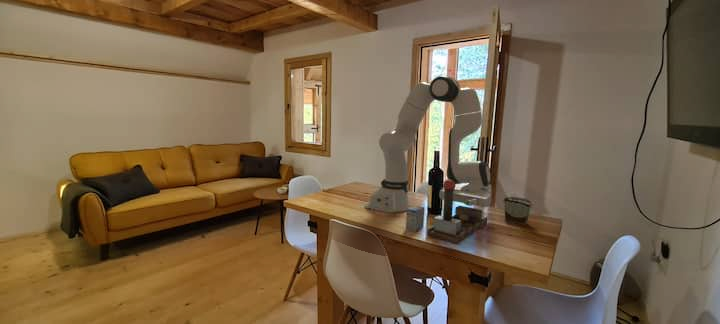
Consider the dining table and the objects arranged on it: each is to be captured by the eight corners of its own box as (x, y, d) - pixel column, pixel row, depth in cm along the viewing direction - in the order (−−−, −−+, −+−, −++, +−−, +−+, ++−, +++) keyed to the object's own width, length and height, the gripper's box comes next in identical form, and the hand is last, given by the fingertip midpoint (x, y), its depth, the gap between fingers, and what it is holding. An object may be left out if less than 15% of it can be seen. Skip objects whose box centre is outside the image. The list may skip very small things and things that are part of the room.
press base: (456, 244, 111) (458, 226, 110) (427, 236, 119) (427, 218, 118) (487, 224, 134) (488, 208, 133) (460, 218, 141) (461, 203, 140)
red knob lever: (455, 236, 113) (458, 182, 111) (433, 230, 119) (435, 178, 116) (460, 233, 117) (463, 180, 114) (438, 227, 123) (441, 177, 120)
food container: (536, 223, 136) (538, 201, 134) (528, 226, 132) (531, 203, 131) (509, 216, 146) (511, 195, 144) (501, 218, 142) (503, 197, 141)
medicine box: (414, 224, 132) (414, 204, 131) (423, 226, 130) (424, 206, 129) (405, 229, 126) (406, 208, 125) (415, 232, 124) (416, 211, 122)
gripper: (447, 183, 138) (432, 188, 128) (495, 191, 125) (482, 197, 115) (447, 197, 139) (432, 203, 129) (494, 206, 126) (481, 214, 116)
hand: (456, 200), depth 122 cm, fingers open, 8 cm apart
